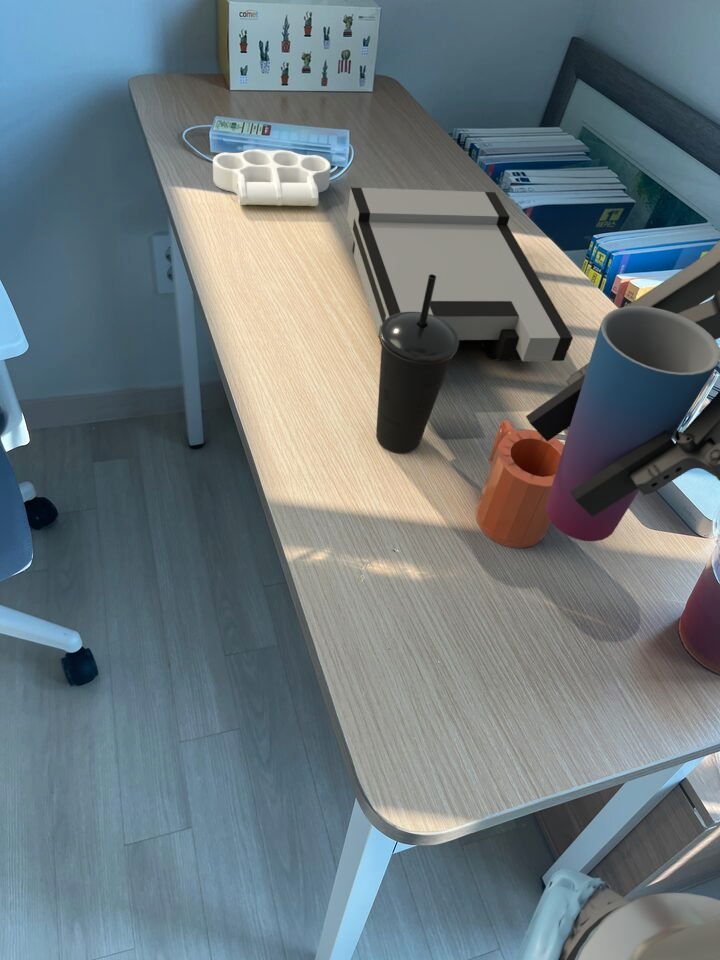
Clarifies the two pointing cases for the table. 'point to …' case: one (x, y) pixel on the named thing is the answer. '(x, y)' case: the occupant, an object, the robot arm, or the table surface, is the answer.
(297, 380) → the table surface
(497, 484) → the mug
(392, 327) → the drinking cup
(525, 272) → the game console
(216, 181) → the knuckle duster
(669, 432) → the cup
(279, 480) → the table surface
